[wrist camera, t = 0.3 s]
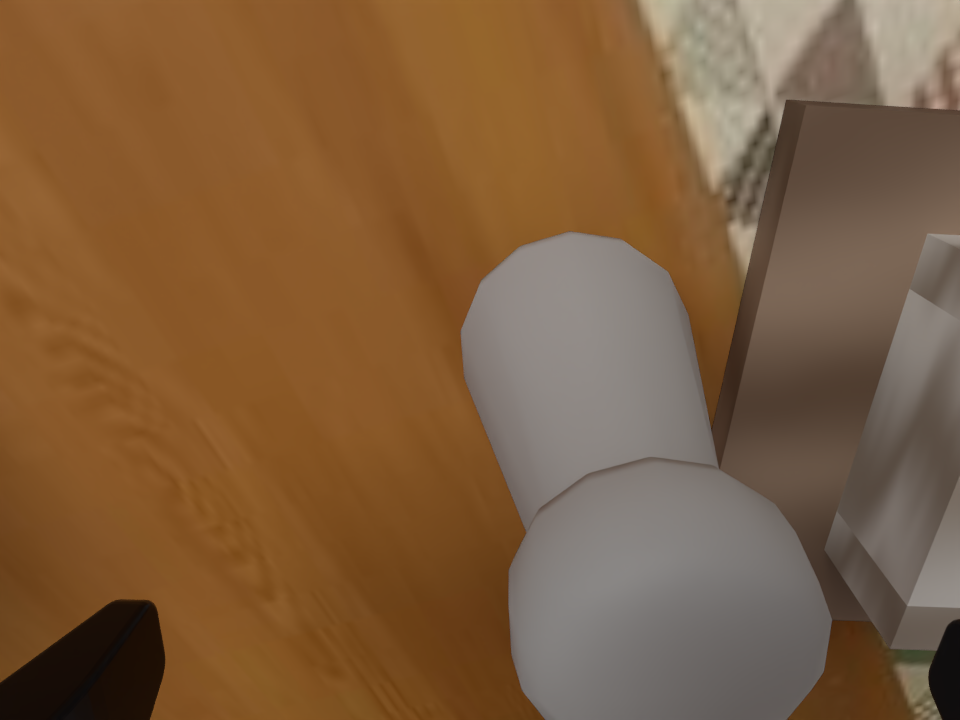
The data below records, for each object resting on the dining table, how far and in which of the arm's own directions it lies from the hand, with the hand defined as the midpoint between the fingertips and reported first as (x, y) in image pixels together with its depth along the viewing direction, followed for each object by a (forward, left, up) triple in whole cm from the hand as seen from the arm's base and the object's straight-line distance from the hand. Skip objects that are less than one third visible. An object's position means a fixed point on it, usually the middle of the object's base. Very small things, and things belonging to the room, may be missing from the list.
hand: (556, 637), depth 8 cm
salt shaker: (-1, -2, -14) cm, 14 cm away
